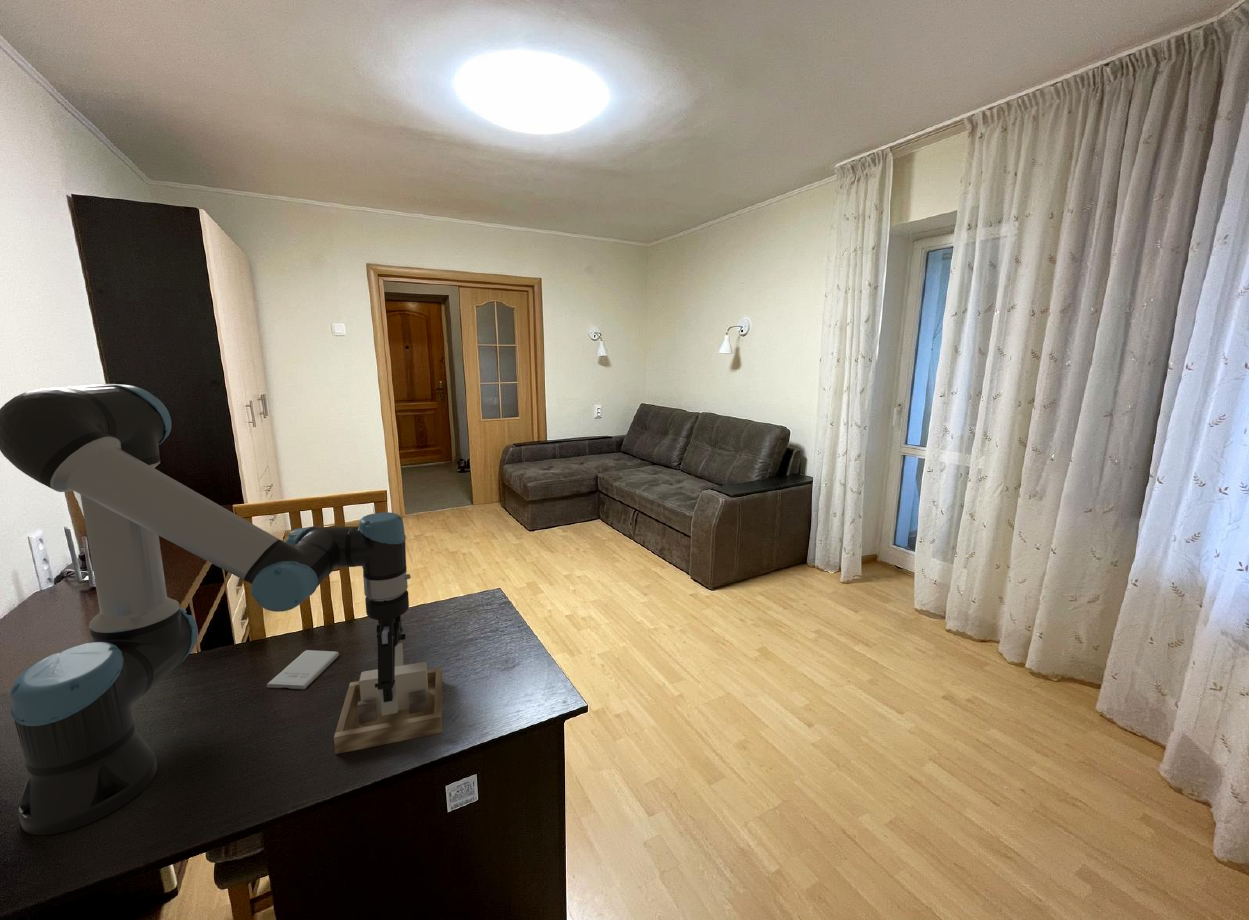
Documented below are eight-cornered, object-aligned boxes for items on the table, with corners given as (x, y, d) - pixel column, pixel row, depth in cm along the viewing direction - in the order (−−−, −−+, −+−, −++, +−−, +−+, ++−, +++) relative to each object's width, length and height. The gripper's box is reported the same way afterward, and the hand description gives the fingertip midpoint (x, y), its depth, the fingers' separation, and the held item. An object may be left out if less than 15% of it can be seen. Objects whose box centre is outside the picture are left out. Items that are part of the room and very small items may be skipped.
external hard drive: (339, 657, 119) (304, 691, 106) (305, 655, 119) (267, 689, 107) (338, 651, 118) (303, 684, 106) (304, 649, 118) (266, 682, 106)
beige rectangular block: (362, 717, 97) (359, 680, 96) (364, 707, 100) (361, 671, 99) (427, 705, 101) (425, 670, 100) (428, 695, 104) (426, 661, 102)
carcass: (335, 754, 90) (333, 730, 89) (351, 697, 104) (349, 676, 103) (441, 732, 95) (440, 709, 94) (442, 681, 110) (441, 661, 109)
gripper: (402, 622, 85) (409, 729, 90) (412, 565, 108) (417, 652, 113) (353, 628, 83) (362, 738, 87) (374, 568, 106) (380, 658, 110)
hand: (393, 690), depth 100 cm, fingers open, 13 cm apart
